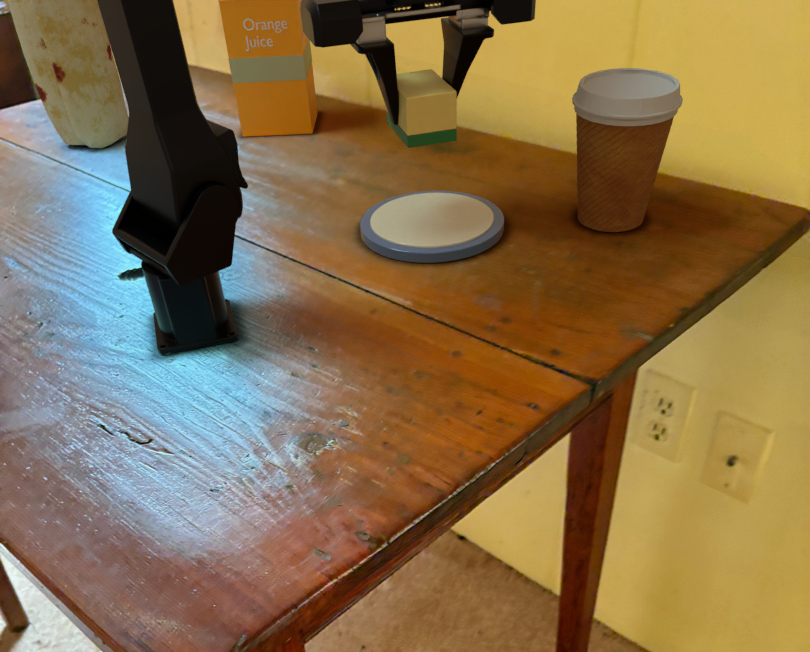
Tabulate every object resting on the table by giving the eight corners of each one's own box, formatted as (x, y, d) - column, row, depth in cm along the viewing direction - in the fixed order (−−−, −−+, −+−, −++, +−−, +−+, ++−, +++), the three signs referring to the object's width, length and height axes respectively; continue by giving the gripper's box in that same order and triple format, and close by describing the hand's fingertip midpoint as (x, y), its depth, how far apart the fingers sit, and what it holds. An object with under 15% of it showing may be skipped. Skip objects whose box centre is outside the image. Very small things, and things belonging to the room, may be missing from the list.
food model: (133, 128, 103) (81, -64, 89) (137, 145, 99) (83, -54, 85) (55, 139, 102) (-11, -55, 87) (55, 158, 97) (-14, -44, 83)
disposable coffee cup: (678, 214, 78) (706, 77, 70) (625, 249, 74) (648, 108, 65) (596, 190, 83) (612, 60, 75) (541, 222, 78) (551, 87, 70)
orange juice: (312, 133, 99) (288, -68, 85) (241, 137, 99) (206, -63, 85) (318, 112, 104) (296, -80, 90) (251, 115, 105) (218, -76, 90)
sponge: (456, 141, 71) (456, 91, 68) (407, 148, 70) (406, 98, 67) (432, 116, 76) (432, 68, 73) (386, 123, 75) (384, 75, 72)
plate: (525, 248, 75) (526, 235, 74) (380, 273, 73) (379, 261, 72) (476, 191, 84) (476, 180, 84) (346, 212, 82) (345, 200, 81)
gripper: (493, -124, 68) (487, 81, 79) (276, -103, 65) (302, 106, 76) (545, -108, 60) (531, 116, 71) (302, -84, 57) (326, 146, 68)
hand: (421, 119), depth 72 cm, fingers closed on sponge, 4 cm apart
